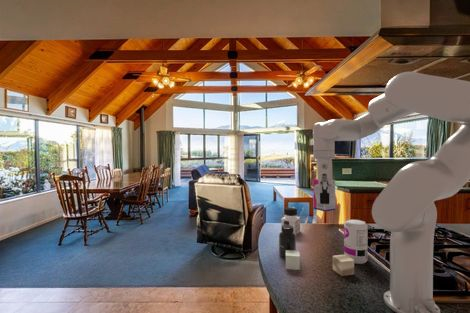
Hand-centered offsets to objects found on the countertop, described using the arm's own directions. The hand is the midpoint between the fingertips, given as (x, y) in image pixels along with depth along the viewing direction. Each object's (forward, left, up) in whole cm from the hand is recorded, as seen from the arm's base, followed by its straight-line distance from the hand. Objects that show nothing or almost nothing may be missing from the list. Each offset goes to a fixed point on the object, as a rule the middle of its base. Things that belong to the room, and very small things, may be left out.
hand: (324, 201), depth 94 cm
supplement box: (0, 0, -3) cm, 3 cm away
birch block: (-6, -4, -24) cm, 25 cm away
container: (+36, +6, -24) cm, 44 cm away
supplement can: (+3, -13, -24) cm, 27 cm away
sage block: (-2, +13, -24) cm, 27 cm away
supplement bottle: (+7, +13, -24) cm, 28 cm away
